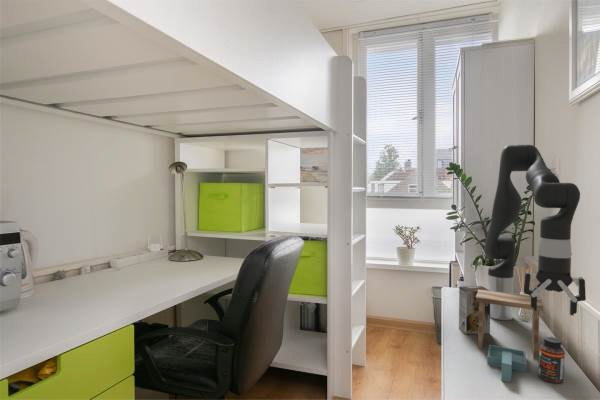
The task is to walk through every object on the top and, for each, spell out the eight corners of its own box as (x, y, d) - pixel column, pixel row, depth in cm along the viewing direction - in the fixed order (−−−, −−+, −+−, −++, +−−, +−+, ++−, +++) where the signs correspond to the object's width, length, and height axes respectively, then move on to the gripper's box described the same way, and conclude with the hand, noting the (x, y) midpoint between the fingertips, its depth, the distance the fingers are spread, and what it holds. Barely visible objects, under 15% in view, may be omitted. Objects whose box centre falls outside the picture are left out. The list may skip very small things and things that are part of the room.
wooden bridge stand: (477, 336, 137) (478, 289, 136) (539, 347, 128) (540, 297, 127) (474, 347, 127) (475, 297, 127) (541, 360, 118) (543, 306, 117)
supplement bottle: (536, 378, 107) (537, 339, 106) (540, 371, 111) (542, 333, 111) (561, 386, 103) (563, 345, 102) (565, 378, 107) (566, 339, 106)
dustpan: (489, 351, 124) (489, 336, 124) (525, 358, 119) (525, 342, 119) (485, 376, 107) (486, 359, 107) (527, 386, 103) (528, 368, 102)
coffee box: (481, 327, 145) (482, 285, 145) (490, 334, 139) (491, 290, 138) (457, 327, 145) (458, 285, 144) (465, 334, 139) (466, 290, 138)
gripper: (583, 254, 105) (582, 312, 106) (524, 250, 112) (522, 304, 113) (588, 259, 99) (586, 320, 99) (525, 254, 106) (523, 311, 106)
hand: (552, 312), depth 106 cm, fingers open, 8 cm apart
